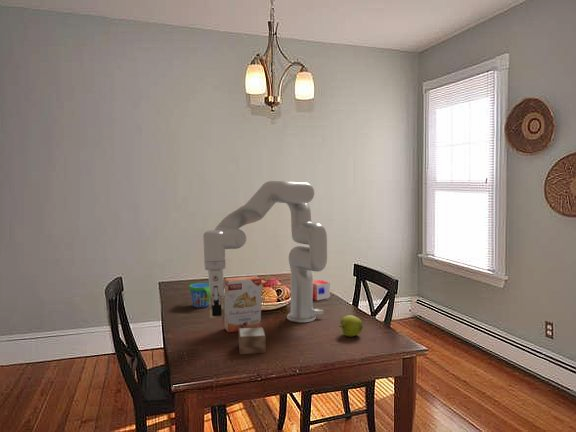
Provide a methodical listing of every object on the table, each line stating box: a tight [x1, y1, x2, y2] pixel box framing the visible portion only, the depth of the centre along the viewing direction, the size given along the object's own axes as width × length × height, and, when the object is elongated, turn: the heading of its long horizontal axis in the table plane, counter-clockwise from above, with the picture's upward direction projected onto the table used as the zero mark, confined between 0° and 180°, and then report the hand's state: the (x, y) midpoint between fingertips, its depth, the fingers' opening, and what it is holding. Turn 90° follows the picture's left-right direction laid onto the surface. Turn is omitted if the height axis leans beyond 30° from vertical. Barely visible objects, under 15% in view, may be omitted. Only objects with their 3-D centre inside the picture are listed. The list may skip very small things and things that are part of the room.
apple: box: [339, 314, 364, 337], centre depth 178 cm, size 8×9×8 cm
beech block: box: [208, 295, 225, 319], centre depth 168 cm, size 5×5×7 cm
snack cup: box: [188, 282, 210, 309], centre depth 217 cm, size 16×10×10 cm
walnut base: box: [238, 326, 267, 355], centre depth 164 cm, size 9×9×6 cm
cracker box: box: [224, 275, 262, 333], centre depth 185 cm, size 14×6×21 cm, turn 113°
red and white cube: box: [313, 279, 331, 301], centre depth 234 cm, size 8×8×8 cm
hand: (216, 312), depth 168 cm, fingers closed on beech block, 5 cm apart
